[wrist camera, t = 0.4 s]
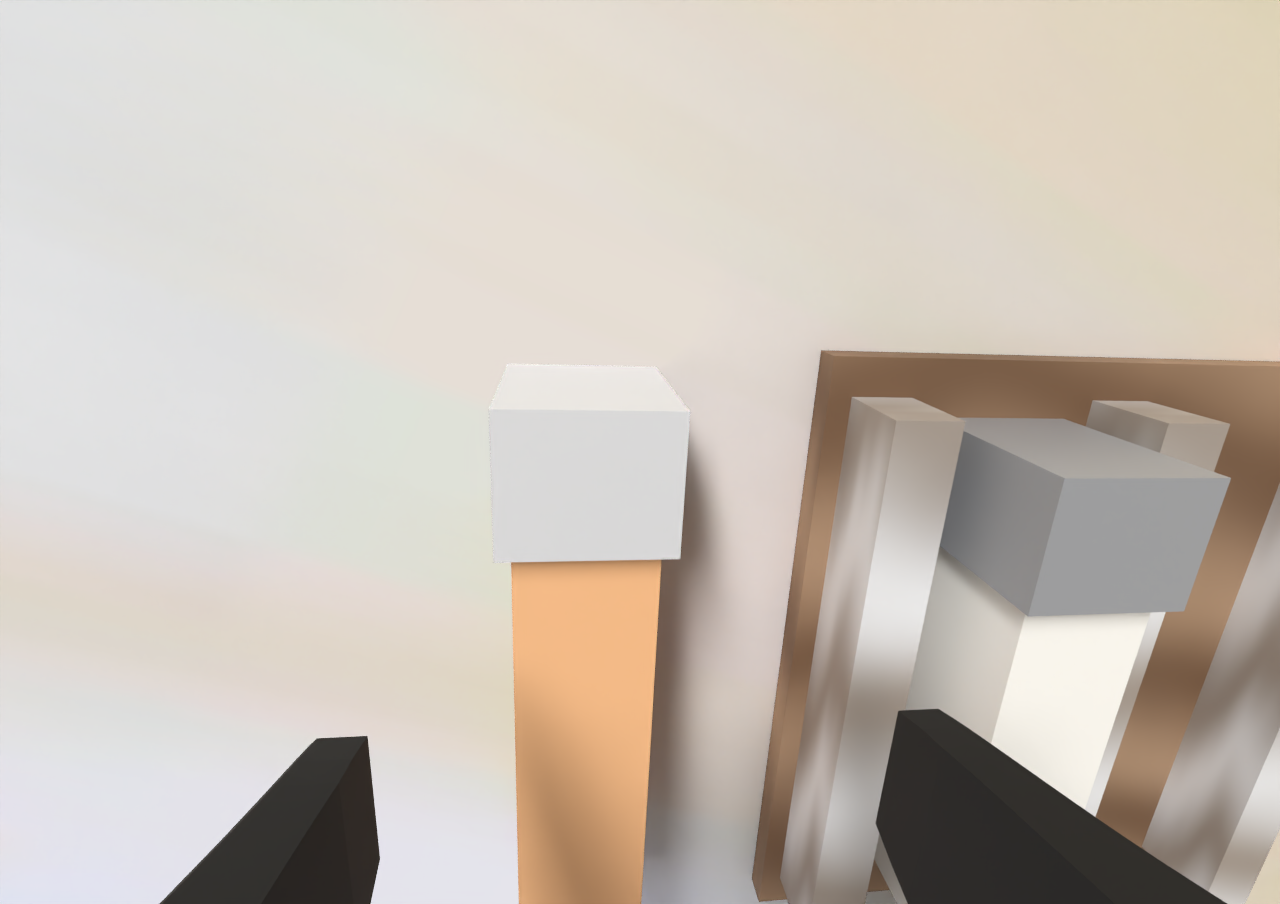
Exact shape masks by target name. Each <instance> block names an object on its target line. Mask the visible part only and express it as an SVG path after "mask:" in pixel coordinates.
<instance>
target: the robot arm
mask: <svg viewBox="0 0 1280 904" xmlns="http://www.w3.org/2000/svg"><path fill="white" fill-rule="evenodd" d="M876 826H877V829H878V831H879V834H880V836H881V839H882V841H883V844H884V847H885V849H886V852H887V854H888V857H889V860H890V862H891V865H892V867H893V870H894V872H895V874H896V877H897V879H898V882H899V884H900V886H901V889H902V891H903V894H904V896H905V898H906V901H907V903H908V904H1227V903H1225V902H1224V901H1222V900H1221V899H1219V898H1218V897H1216V896H1215V895H1213V894H1211V893H1210V892H1208V891H1207V890H1205V889H1204V888H1202V887H1201V886H1199V885H1197V884H1196V883H1194V882H1193V881H1191V880H1190V879H1188V878H1186V877H1185V876H1183V875H1182V874H1180V873H1179V872H1177V871H1176V870H1174V869H1172V868H1171V867H1169V866H1168V865H1166V864H1165V863H1163V862H1162V861H1160V860H1158V859H1157V858H1155V857H1154V856H1152V855H1151V854H1149V853H1148V852H1146V851H1145V850H1143V849H1142V848H1140V847H1139V846H1138V845H1136V844H1135V843H1133V842H1132V841H1130V840H1129V839H1127V838H1126V837H1124V836H1123V835H1121V834H1120V833H1118V832H1117V831H1115V830H1114V829H1112V828H1111V827H1109V826H1108V825H1106V824H1105V823H1103V822H1102V821H1101V820H1099V819H1098V818H1096V817H1095V816H1093V815H1092V814H1090V813H1089V812H1088V811H1086V810H1085V809H1083V808H1082V807H1080V806H1079V805H1077V804H1076V803H1074V802H1073V801H1072V800H1070V799H1069V798H1067V797H1066V796H1064V795H1063V794H1062V793H1060V792H1059V791H1057V790H1056V789H1054V788H1053V787H1052V786H1050V785H1049V784H1047V783H1046V782H1045V781H1043V780H1042V779H1040V778H1039V777H1037V776H1036V775H1035V774H1033V773H1032V772H1030V771H1029V770H1028V769H1026V768H1025V767H1023V766H1022V765H1020V764H1019V763H1018V762H1016V761H1015V760H1013V759H1012V758H1011V757H1009V756H1008V755H1006V754H1005V753H1003V752H1002V751H1001V750H999V749H998V748H996V747H995V746H993V745H992V744H991V743H989V742H988V741H986V740H985V739H983V738H982V737H981V736H979V735H978V734H976V733H975V732H973V731H972V730H970V729H969V728H967V727H966V726H964V725H963V724H961V723H960V722H958V721H957V720H955V719H954V718H952V717H951V716H949V715H948V714H946V713H944V712H943V711H941V710H940V709H921V710H901V711H898V714H897V719H896V724H895V729H894V734H893V739H892V744H891V749H890V754H889V759H888V764H887V769H886V774H885V778H884V783H883V788H882V793H881V798H880V803H879V808H878V813H877V818H876ZM379 860H380V856H379V846H378V836H377V826H376V816H375V807H374V797H373V787H372V777H371V767H370V757H369V747H368V738H367V736H360V737H339V738H318V739H316V740H315V741H314V742H313V743H312V744H311V745H310V746H309V747H308V748H307V749H306V750H305V751H304V752H303V753H302V754H301V755H300V756H299V757H298V758H297V759H296V760H295V761H294V763H293V764H292V765H291V766H290V767H289V768H288V769H287V770H286V771H285V772H284V773H283V775H282V776H281V777H280V778H279V779H278V780H277V781H276V782H275V783H274V784H273V785H272V786H271V788H270V789H269V790H268V791H267V792H266V793H265V794H264V795H263V796H262V797H261V798H260V799H259V801H258V802H257V803H256V804H255V805H254V806H253V807H252V808H251V809H250V810H249V811H248V812H247V813H246V814H245V816H244V817H243V818H242V819H241V820H240V821H239V822H238V823H237V824H236V825H235V826H234V827H233V828H232V829H231V830H230V832H229V833H228V834H227V835H226V836H225V837H224V838H223V839H222V840H221V841H220V842H219V843H218V844H217V845H216V846H215V847H214V848H213V849H212V850H211V851H210V852H209V853H208V855H207V856H206V857H205V858H204V859H203V860H202V861H201V862H200V863H199V864H198V865H197V866H196V867H195V868H194V869H193V870H192V871H191V872H190V873H189V874H188V875H187V876H186V877H185V878H184V879H183V880H182V881H181V882H180V883H179V884H178V885H177V886H176V887H175V889H174V890H173V891H172V892H171V893H170V894H169V895H168V896H167V897H166V898H165V899H164V900H163V901H162V902H161V903H160V904H370V903H371V898H372V893H373V889H374V884H375V879H376V874H377V870H378V865H379Z"/></svg>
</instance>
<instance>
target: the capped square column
mask: <svg viewBox="0 0 1280 904" xmlns="http://www.w3.org/2000/svg"><path fill="white" fill-rule="evenodd" d="M689 425H690V410H689V409H688V408H687V406H686V405H685V404H684V402H683V401H682V400H681V399H680V397H679V396H678V395H677V393H676V392H675V391H674V390H673V388H672V387H671V386H670V384H669V383H668V382H667V380H666V379H665V378H664V377H663V375H662V374H661V373H660V371H659V370H658V369H657V367H656V366H607V365H557V364H507V366H506V369H505V371H504V373H503V376H502V378H501V381H500V383H499V385H498V388H497V390H496V393H495V395H494V398H493V400H492V402H491V405H490V407H489V436H490V467H491V498H492V530H493V561H494V563H504V562H511V569H512V614H513V659H514V704H515V749H516V793H517V838H518V883H519V904H641V896H642V879H643V862H644V845H645V829H646V812H647V795H648V778H649V761H650V744H651V728H652V711H653V694H654V677H655V660H656V643H657V627H658V610H659V593H660V576H661V560H662V559H680V555H681V540H682V526H683V512H684V497H685V483H686V468H687V454H688V440H689Z"/></svg>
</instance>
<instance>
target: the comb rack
mask: <svg viewBox="0 0 1280 904" xmlns="http://www.w3.org/2000/svg"><path fill="white" fill-rule="evenodd" d="M959 418H1040V419H1066V420H1068V421H1071V422H1074V423H1077V424H1080V425H1083V426H1085V427H1088V428H1091V429H1094V430H1097V431H1100V432H1102V433H1105V434H1108V435H1111V436H1114V437H1116V438H1119V439H1122V440H1125V441H1128V442H1131V443H1133V444H1136V445H1139V446H1142V447H1145V448H1148V449H1150V450H1153V451H1156V452H1159V453H1162V454H1165V455H1167V456H1170V457H1173V458H1176V459H1179V460H1182V461H1184V462H1187V463H1190V464H1193V465H1196V466H1199V467H1201V468H1204V469H1207V470H1210V471H1213V472H1216V473H1218V474H1221V475H1224V476H1227V477H1230V478H1231V480H1230V483H1229V485H1228V488H1227V491H1226V494H1225V497H1224V500H1223V502H1222V505H1221V508H1220V511H1219V514H1218V517H1217V519H1216V522H1215V525H1214V528H1213V531H1212V534H1211V536H1210V539H1209V542H1208V545H1207V548H1206V551H1205V553H1204V556H1203V559H1202V562H1201V565H1200V567H1199V570H1198V573H1197V576H1196V579H1195V582H1194V584H1193V587H1192V590H1191V593H1190V596H1189V599H1188V601H1187V604H1186V607H1185V610H1184V611H1180V612H1151V614H1150V617H1149V620H1148V623H1147V626H1146V629H1145V632H1144V635H1143V638H1142V641H1141V644H1140V647H1139V650H1138V653H1137V656H1136V659H1135V662H1134V664H1133V667H1132V670H1131V673H1130V676H1129V679H1128V682H1127V685H1126V688H1125V691H1124V694H1123V697H1122V700H1121V703H1120V706H1119V709H1118V712H1117V715H1116V718H1115V721H1114V724H1113V727H1112V730H1111V733H1110V736H1109V739H1108V742H1107V745H1106V748H1105V751H1104V754H1103V757H1102V760H1101V763H1100V766H1099V769H1098V772H1097V775H1096V778H1095V781H1094V784H1093V787H1092V790H1091V793H1090V796H1089V799H1088V802H1087V805H1086V808H1085V810H1086V811H1088V812H1089V813H1090V814H1092V815H1093V816H1095V817H1096V818H1098V819H1099V820H1101V821H1102V822H1103V823H1105V824H1106V825H1108V826H1109V827H1111V828H1112V829H1114V830H1115V831H1117V832H1118V833H1120V834H1121V835H1123V836H1124V837H1126V838H1127V839H1129V840H1130V841H1132V842H1133V843H1135V844H1136V845H1138V846H1139V847H1140V848H1142V849H1143V850H1145V851H1146V852H1148V853H1149V854H1151V855H1152V856H1154V857H1155V858H1157V859H1158V860H1160V861H1162V862H1163V863H1165V864H1166V865H1168V866H1169V867H1171V868H1172V869H1174V870H1176V871H1177V872H1179V873H1180V874H1182V875H1183V876H1185V877H1186V878H1188V879H1190V880H1191V881H1193V882H1194V883H1196V884H1197V885H1199V886H1201V887H1202V888H1204V889H1205V890H1207V891H1208V892H1210V893H1211V894H1213V895H1215V896H1216V897H1218V898H1219V899H1221V900H1222V901H1224V902H1225V903H1227V904H1245V903H1246V900H1247V898H1248V896H1249V894H1250V892H1251V890H1252V888H1253V885H1254V883H1255V881H1256V879H1257V877H1258V875H1259V872H1260V870H1261V868H1262V866H1263V864H1264V862H1265V859H1266V857H1267V855H1268V853H1269V851H1270V849H1271V847H1272V844H1273V842H1274V840H1275V838H1276V836H1277V834H1278V831H1279V829H1280V362H1269V361H1228V360H1187V359H1146V358H1105V357H1064V356H1023V355H982V354H941V353H900V352H859V351H821V357H820V365H819V372H818V380H817V388H816V395H815V403H814V410H813V418H812V426H811V433H810V441H809V448H808V456H807V464H806V471H805V479H804V487H803V494H802V502H801V509H800V517H799V525H798V532H797V540H796V547H795V555H794V563H793V570H792V578H791V585H790V593H789V601H788V608H787V616H786V623H785V631H784V639H783V646H782V654H781V661H780V669H779V677H778V684H777V692H776V700H775V707H774V715H773V722H772V730H771V738H770V745H769V753H768V760H767V768H766V776H765V783H764V791H763V798H762V806H761V814H760V821H759V829H758V836H757V844H756V852H755V859H754V867H753V874H752V880H753V884H754V887H755V890H756V894H757V897H758V900H759V902H761V901H772V900H783V899H787V900H788V902H789V904H865V900H866V895H867V892H871V891H882V890H890V889H889V887H888V885H887V883H886V881H885V879H884V877H883V875H882V873H881V872H880V870H879V868H878V866H877V864H876V862H875V860H874V857H875V852H876V847H877V843H878V838H879V831H878V829H877V826H876V818H877V813H878V808H879V803H880V798H881V793H882V788H883V783H884V778H885V774H886V769H887V764H888V759H889V754H890V749H891V744H892V739H893V734H894V729H895V724H896V719H897V714H898V711H901V710H905V709H906V704H907V699H908V694H909V690H910V685H911V680H912V675H913V670H914V666H915V661H916V656H917V651H918V646H919V642H920V637H921V632H922V627H923V623H924V618H925V613H926V608H927V603H928V599H929V594H930V589H931V584H932V580H933V575H934V570H935V565H936V560H937V556H938V551H939V546H940V541H941V536H942V532H943V527H944V522H945V517H946V513H947V508H948V503H949V498H950V493H951V489H952V484H953V479H954V474H955V470H956V465H957V460H958V455H959V450H960V446H961V441H962V436H963V431H964V427H965V422H966V421H964V420H961V419H959Z"/></svg>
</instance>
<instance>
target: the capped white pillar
mask: <svg viewBox="0 0 1280 904" xmlns="http://www.w3.org/2000/svg"><path fill="white" fill-rule="evenodd" d="M959 419H961V420H964V421H966V422H965V427H964V431H963V436H962V441H961V446H960V450H959V455H958V460H957V465H956V470H955V474H954V479H953V484H952V489H951V493H950V498H949V503H948V508H947V513H946V517H945V522H944V527H943V532H942V536H941V541H940V546H939V551H938V556H937V560H936V565H935V570H934V575H933V580H932V584H931V589H930V594H929V599H928V603H927V608H926V613H925V618H924V623H923V627H922V632H921V637H920V642H919V646H918V651H917V656H916V661H915V666H914V670H913V675H912V680H911V685H910V690H909V694H908V699H907V704H906V709H905V710H921V709H940V710H941V711H943V712H944V713H946V714H948V715H949V716H951V717H952V718H954V719H955V720H957V721H958V722H960V723H961V724H963V725H964V726H966V727H967V728H969V729H970V730H972V731H973V732H975V733H976V734H978V735H979V736H981V737H982V738H983V739H985V740H986V741H988V742H989V743H991V744H992V745H993V746H995V747H996V748H998V749H999V750H1001V751H1002V752H1003V753H1005V754H1006V755H1008V756H1009V757H1011V758H1012V759H1013V760H1015V761H1016V762H1018V763H1019V764H1020V765H1022V766H1023V767H1025V768H1026V769H1028V770H1029V771H1030V772H1032V773H1033V774H1035V775H1036V776H1037V777H1039V778H1040V779H1042V780H1043V781H1045V782H1046V783H1047V784H1049V785H1050V786H1052V787H1053V788H1054V789H1056V790H1057V791H1059V792H1060V793H1062V794H1063V795H1064V796H1066V797H1067V798H1069V799H1070V800H1072V801H1073V802H1074V803H1076V804H1077V805H1079V806H1080V807H1082V808H1083V809H1085V808H1086V805H1087V802H1088V799H1089V796H1090V793H1091V790H1092V787H1093V784H1094V781H1095V778H1096V775H1097V772H1098V769H1099V766H1100V763H1101V760H1102V757H1103V754H1104V751H1105V748H1106V745H1107V742H1108V739H1109V736H1110V733H1111V730H1112V727H1113V724H1114V721H1115V718H1116V715H1117V712H1118V709H1119V706H1120V703H1121V700H1122V697H1123V694H1124V691H1125V688H1126V685H1127V682H1128V679H1129V676H1130V673H1131V670H1132V667H1133V664H1134V662H1135V659H1136V656H1137V653H1138V650H1139V647H1140V644H1141V641H1142V638H1143V635H1144V632H1145V629H1146V626H1147V623H1148V620H1149V617H1150V614H1151V612H1180V611H1184V610H1185V607H1186V604H1187V601H1188V599H1189V596H1190V593H1191V590H1192V587H1193V584H1194V582H1195V579H1196V576H1197V573H1198V570H1199V567H1200V565H1201V562H1202V559H1203V556H1204V553H1205V551H1206V548H1207V545H1208V542H1209V539H1210V536H1211V534H1212V531H1213V528H1214V525H1215V522H1216V519H1217V517H1218V514H1219V511H1220V508H1221V505H1222V502H1223V500H1224V497H1225V494H1226V491H1227V488H1228V485H1229V483H1230V480H1231V478H1230V477H1227V476H1224V475H1221V474H1218V473H1216V472H1213V471H1210V470H1207V469H1204V468H1201V467H1199V466H1196V465H1193V464H1190V463H1187V462H1184V461H1182V460H1179V459H1176V458H1173V457H1170V456H1167V455H1165V454H1162V453H1159V452H1156V451H1153V450H1150V449H1148V448H1145V447H1142V446H1139V445H1136V444H1133V443H1131V442H1128V441H1125V440H1122V439H1119V438H1116V437H1114V436H1111V435H1108V434H1105V433H1102V432H1100V431H1097V430H1094V429H1091V428H1088V427H1085V426H1083V425H1080V424H1077V423H1074V422H1071V421H1068V420H1066V419H1040V418H959ZM874 860H875V862H876V864H877V866H878V868H879V870H880V872H881V873H882V875H883V877H884V879H885V881H886V883H887V885H888V887H889V889H890V891H891V893H892V895H893V897H894V899H895V901H896V903H897V904H908V903H907V901H906V898H905V896H904V894H903V891H902V889H901V886H900V884H899V882H898V879H897V877H896V874H895V872H894V870H893V867H892V865H891V862H890V860H889V857H888V854H887V852H886V849H885V847H884V844H883V841H882V839H881V836H880V834H879V838H878V843H877V847H876V852H875V857H874Z"/></svg>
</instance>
